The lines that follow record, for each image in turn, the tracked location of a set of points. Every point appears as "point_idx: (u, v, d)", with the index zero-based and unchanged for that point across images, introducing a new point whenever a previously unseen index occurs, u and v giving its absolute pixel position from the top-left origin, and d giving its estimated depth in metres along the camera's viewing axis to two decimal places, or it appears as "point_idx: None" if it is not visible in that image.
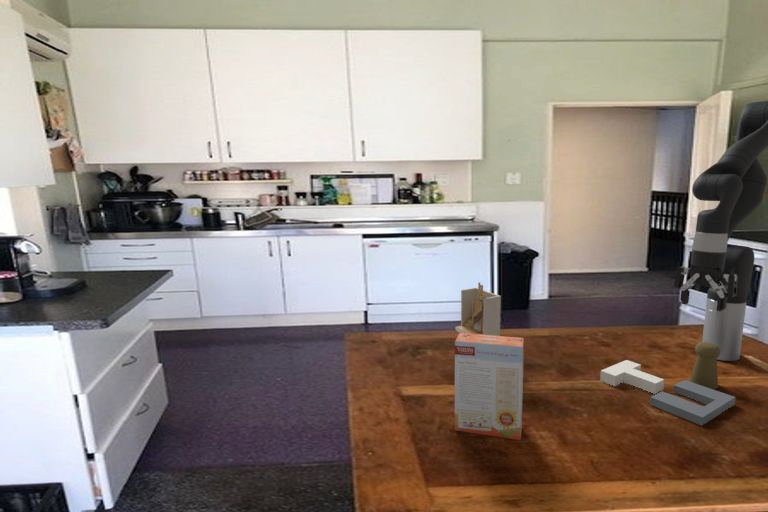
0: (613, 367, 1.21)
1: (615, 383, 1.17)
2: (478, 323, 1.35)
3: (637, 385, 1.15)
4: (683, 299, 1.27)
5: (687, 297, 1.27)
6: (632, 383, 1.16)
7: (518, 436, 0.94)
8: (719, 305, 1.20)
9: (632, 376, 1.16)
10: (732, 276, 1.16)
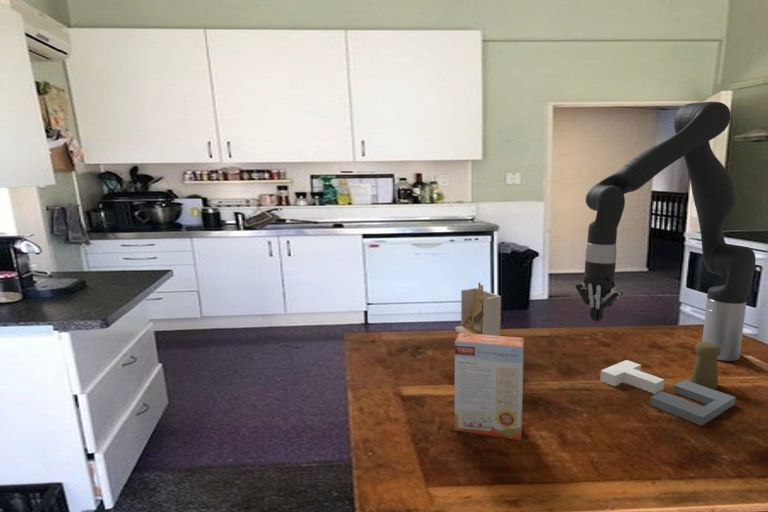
0: (613, 367, 1.21)
1: (615, 383, 1.17)
2: (478, 323, 1.35)
3: (637, 385, 1.15)
4: (592, 316, 1.25)
5: None
6: (632, 383, 1.16)
7: (518, 436, 0.94)
8: (596, 315, 1.24)
9: (632, 376, 1.16)
10: (616, 295, 1.18)
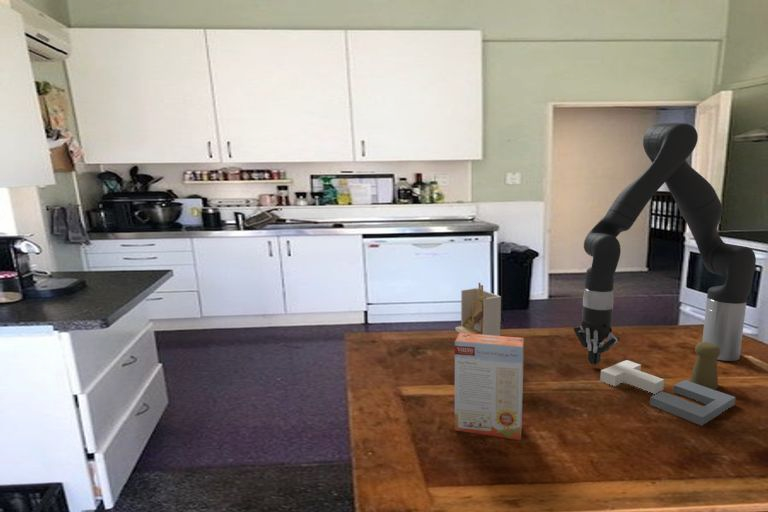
0: (613, 367, 1.21)
1: (615, 383, 1.17)
2: (478, 323, 1.35)
3: (637, 385, 1.15)
4: (590, 359, 1.27)
5: None
6: (632, 383, 1.16)
7: (518, 436, 0.94)
8: (593, 359, 1.26)
9: (632, 376, 1.16)
10: (613, 341, 1.21)
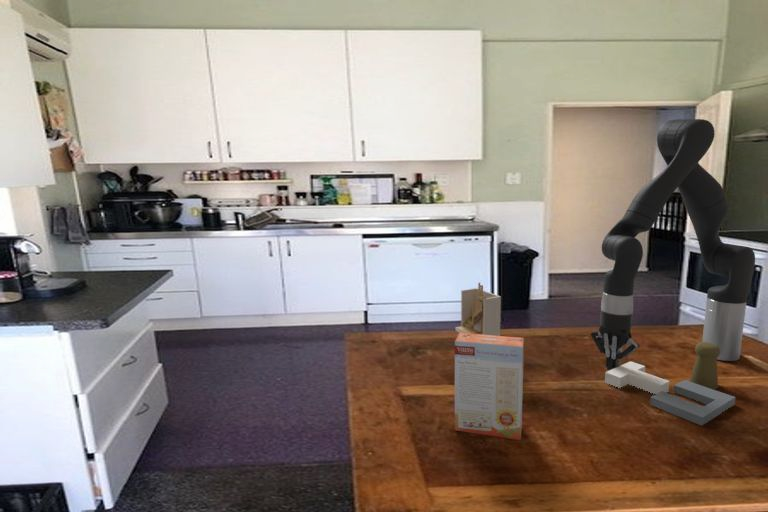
0: (617, 369, 1.20)
1: (620, 385, 1.15)
2: (478, 323, 1.35)
3: (642, 387, 1.14)
4: (608, 365, 1.23)
5: None
6: (637, 385, 1.15)
7: (518, 436, 0.94)
8: (611, 366, 1.22)
9: (637, 378, 1.15)
10: (633, 347, 1.16)
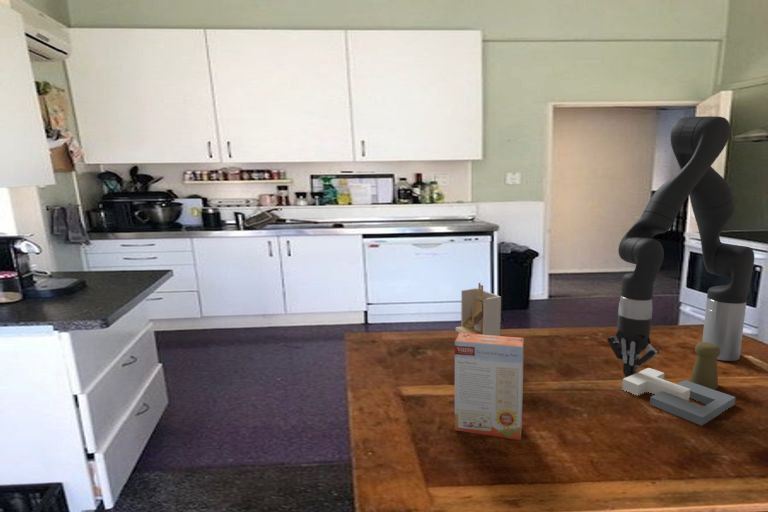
0: (635, 375, 1.16)
1: (638, 392, 1.11)
2: (478, 324, 1.35)
3: None
4: (625, 372, 1.18)
5: None
6: (656, 392, 1.11)
7: (518, 436, 0.94)
8: (629, 372, 1.18)
9: (656, 385, 1.11)
10: (652, 353, 1.12)
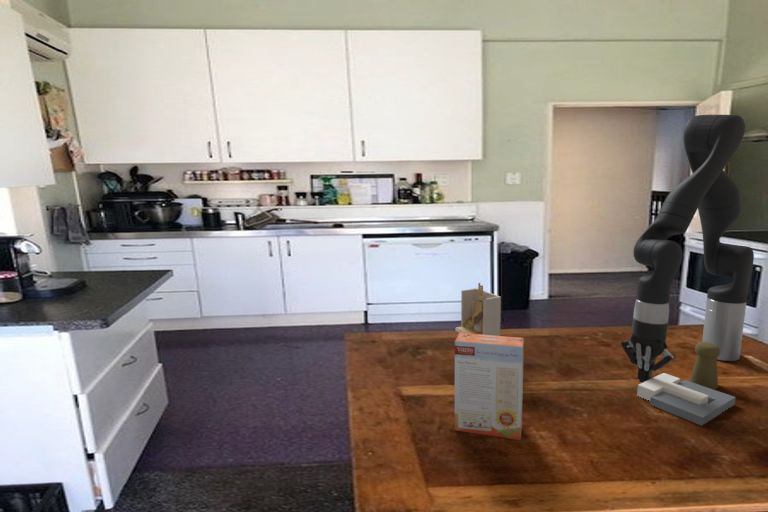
0: (650, 381, 1.12)
1: None
2: (478, 324, 1.34)
3: None
4: (640, 377, 1.15)
5: None
6: None
7: (518, 436, 0.94)
8: (644, 377, 1.14)
9: (673, 391, 1.08)
10: (669, 359, 1.09)
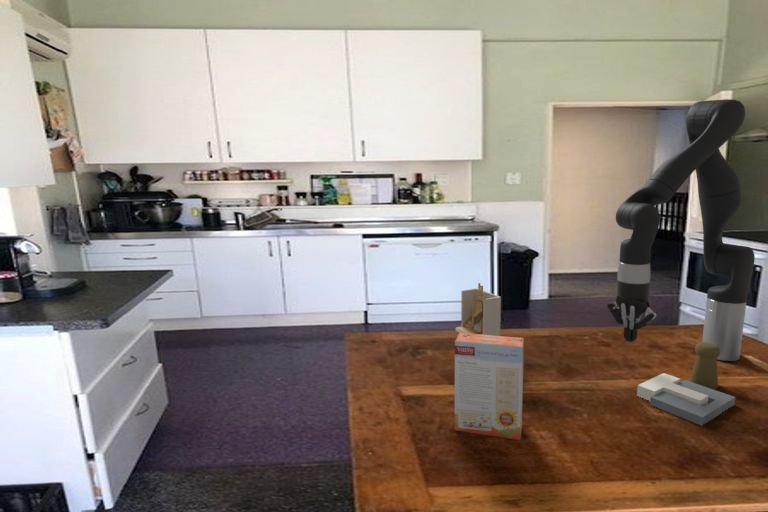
0: (650, 381, 1.12)
1: None
2: (478, 324, 1.34)
3: None
4: (626, 336, 1.21)
5: None
6: None
7: (518, 436, 0.94)
8: (630, 336, 1.20)
9: (673, 392, 1.08)
10: (651, 316, 1.15)
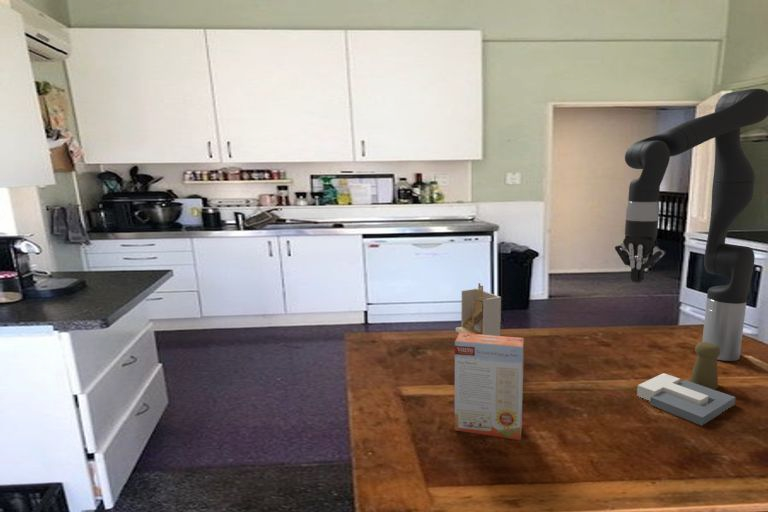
0: (650, 381, 1.12)
1: None
2: (479, 324, 1.34)
3: None
4: (633, 277, 1.22)
5: None
6: None
7: (518, 436, 0.94)
8: (637, 276, 1.21)
9: (673, 392, 1.08)
10: (659, 253, 1.15)
